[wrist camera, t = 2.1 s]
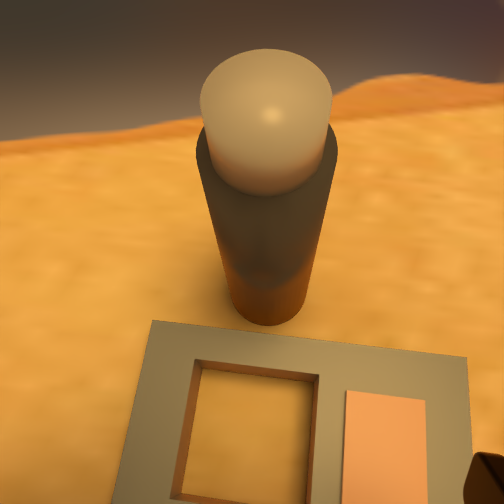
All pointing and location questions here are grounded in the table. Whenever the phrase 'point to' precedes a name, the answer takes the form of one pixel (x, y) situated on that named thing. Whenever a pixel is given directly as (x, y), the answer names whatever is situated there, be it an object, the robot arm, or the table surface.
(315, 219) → the grey and beige cylinder
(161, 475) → the socket plate
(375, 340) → the table surface
